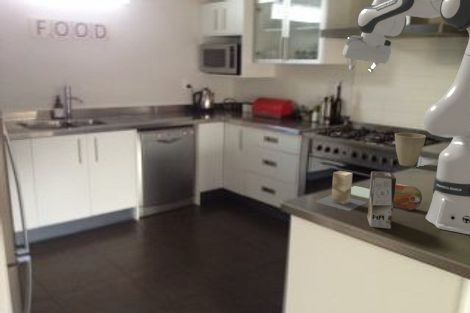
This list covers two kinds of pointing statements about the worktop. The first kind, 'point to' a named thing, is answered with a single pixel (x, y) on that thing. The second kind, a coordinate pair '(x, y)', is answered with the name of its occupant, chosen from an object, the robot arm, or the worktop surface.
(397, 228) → the worktop surface
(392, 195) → the coffee box
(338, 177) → the beech block
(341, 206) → the tile
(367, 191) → the board
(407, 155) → the plant pot
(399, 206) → the tin
